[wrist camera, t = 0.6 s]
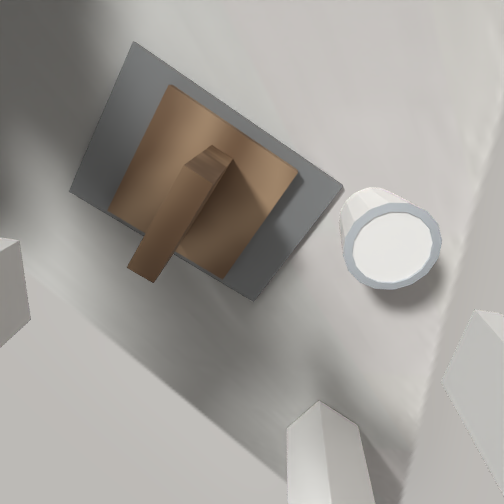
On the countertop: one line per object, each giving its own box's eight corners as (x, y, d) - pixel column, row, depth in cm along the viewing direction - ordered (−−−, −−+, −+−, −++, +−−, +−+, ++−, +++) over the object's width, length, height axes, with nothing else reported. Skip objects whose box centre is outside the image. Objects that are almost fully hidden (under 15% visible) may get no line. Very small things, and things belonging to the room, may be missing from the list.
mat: (72, 189, 33) (69, 191, 33) (136, 42, 28) (133, 41, 28) (254, 298, 37) (253, 301, 36) (342, 184, 31) (343, 186, 31)
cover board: (112, 206, 33) (46, 250, 24) (172, 84, 29) (119, 80, 19) (224, 273, 35) (203, 339, 26) (297, 169, 31) (303, 203, 21)
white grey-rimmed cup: (394, 260, 34) (420, 299, 27) (322, 244, 34) (331, 280, 27) (423, 189, 31) (459, 214, 25) (344, 172, 31) (360, 192, 25)
